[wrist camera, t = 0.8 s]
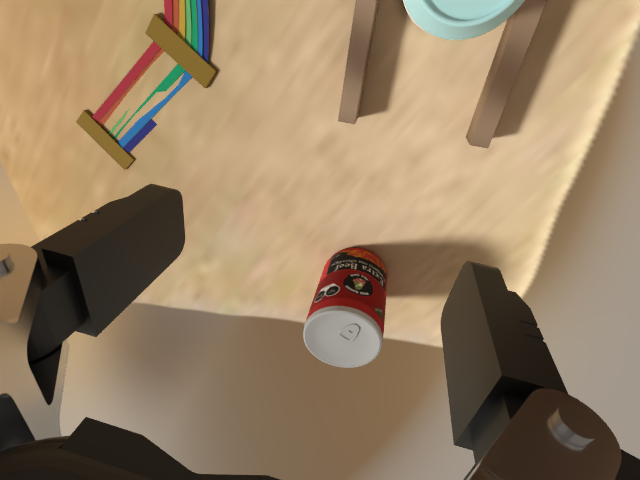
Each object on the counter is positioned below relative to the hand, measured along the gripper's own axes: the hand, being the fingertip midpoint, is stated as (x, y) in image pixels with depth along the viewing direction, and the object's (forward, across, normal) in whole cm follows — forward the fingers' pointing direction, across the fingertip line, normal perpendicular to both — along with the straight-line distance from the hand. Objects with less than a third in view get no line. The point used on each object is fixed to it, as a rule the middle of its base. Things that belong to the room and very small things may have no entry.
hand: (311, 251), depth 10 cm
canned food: (+27, -2, +20) cm, 33 cm away
